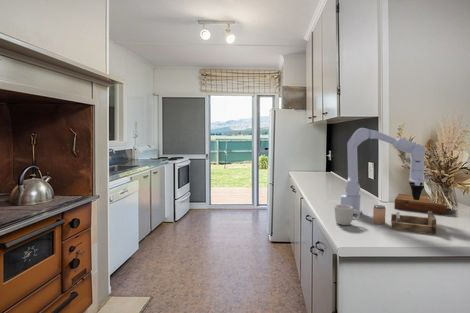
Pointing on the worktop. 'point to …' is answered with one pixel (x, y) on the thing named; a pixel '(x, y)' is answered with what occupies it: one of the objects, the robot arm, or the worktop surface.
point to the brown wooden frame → (408, 226)
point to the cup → (345, 214)
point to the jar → (379, 214)
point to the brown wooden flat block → (418, 204)
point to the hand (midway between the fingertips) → (415, 198)
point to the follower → (397, 217)
